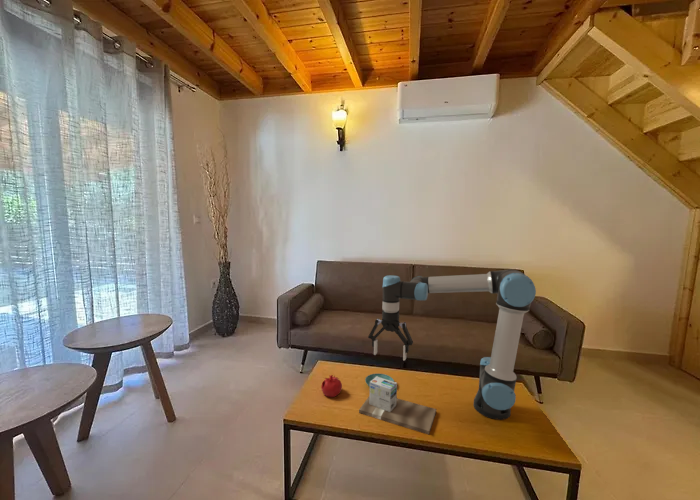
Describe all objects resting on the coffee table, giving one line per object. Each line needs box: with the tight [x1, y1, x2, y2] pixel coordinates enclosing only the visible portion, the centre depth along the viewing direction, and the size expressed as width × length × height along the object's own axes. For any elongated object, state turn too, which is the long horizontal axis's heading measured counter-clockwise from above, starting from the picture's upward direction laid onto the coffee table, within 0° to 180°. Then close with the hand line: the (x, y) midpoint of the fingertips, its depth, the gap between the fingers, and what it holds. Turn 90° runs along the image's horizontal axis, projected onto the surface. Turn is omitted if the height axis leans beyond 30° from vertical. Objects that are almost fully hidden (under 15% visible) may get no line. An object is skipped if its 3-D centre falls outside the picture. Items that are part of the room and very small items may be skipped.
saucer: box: [364, 373, 395, 388], centre depth 157 cm, size 15×15×3 cm
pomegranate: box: [321, 374, 343, 398], centre depth 148 cm, size 10×10×9 cm
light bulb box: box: [368, 376, 398, 412], centre depth 137 cm, size 11×7×11 cm, turn 57°
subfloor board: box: [358, 396, 437, 436], centre depth 134 cm, size 30×16×2 cm, turn 65°
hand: (389, 356), depth 139 cm, fingers open, 13 cm apart
